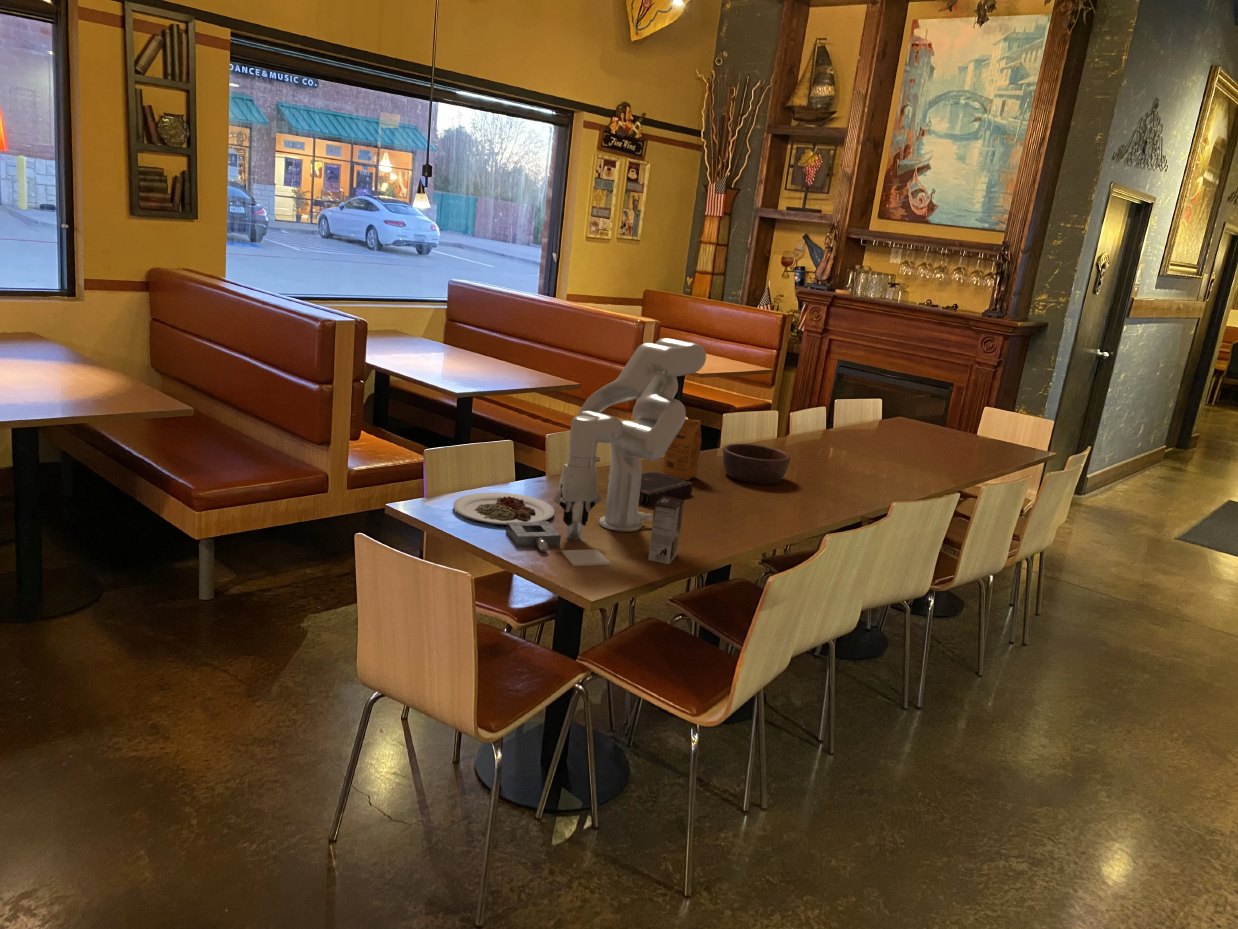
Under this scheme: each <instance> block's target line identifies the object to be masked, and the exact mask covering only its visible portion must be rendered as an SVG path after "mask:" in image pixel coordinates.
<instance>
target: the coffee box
mask: <svg viewBox="0 0 1238 929" xmlns="http://www.w3.org/2000/svg"><path fill="white" fill-rule="evenodd" d="M684 502H685V499H682V498H674V497H669V496H662V497H661V498H660V499H659V500H658V501H657V502H656V503H655V505H654V508H653V515H652V523H651V524H652V526H651V534H650V541H649V542H650V543H649V550H648V556H647V557H648V558H647V559H648V561H652V562H656V563H661V564H666V565H671V563H672V562H673V561H674V559H675V558H676V556H677V555H678V552H679V544H680V543H679V542H680V535H681V528H682V520H683V519H682V518H683V512H684V511H683V510H684V505H685V504H684Z"/></svg>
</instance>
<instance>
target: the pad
mask: <svg viewBox="0 0 1238 929" xmlns="http://www.w3.org/2000/svg"><path fill="white" fill-rule="evenodd" d="M561 553H562V554H563V555H564V557H565V558H566V559H567V560H568V561H569V563H570V564H572V566H573V567H585V566H610V565H611V562H610V560H608V559H607V557H605V555H603V554H602V553H601V551H599V549H596V548H594V549H568V550H567V549H564V550H561Z"/></svg>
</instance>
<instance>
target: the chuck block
mask: <svg viewBox="0 0 1238 929" xmlns="http://www.w3.org/2000/svg"><path fill="white" fill-rule="evenodd" d="M505 528H506V529H505V533H506V534H507V536H508V538H510V540H512V542H513V543H514V545H515V546H516V547H517V548H532V547H534V548H535V547H537V548H539V550H540V551H541V552H543V553H546V552H548V551H549V549H550V547H560V546H561V537H562V535H561V534H560V533H559V532H558V530H556V528H555V527H554V526H553V525H552V524H551V523H550V522H549V521H548V520H546V521H542V522H507V525H505Z"/></svg>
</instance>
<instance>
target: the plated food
mask: <svg viewBox="0 0 1238 929" xmlns="http://www.w3.org/2000/svg"><path fill="white" fill-rule="evenodd" d="M452 504H453V509H454V511H456V512H457V513H458V514H460V515H461V516H464V517H465V518H468V519H471V520H474V521H477V522H478V521H479V522H484V523H487V524H493V525H500V526H501V525H502V526H507V522H544V521H548V520H550V519H551V518H553V517H554V515H555V509H554V507H553V506H552V505H551V504H549V503H548V502H546V501H544V500H542V499H538V498H536V497H532V496H528V495H523V494H518V493H508V492H478V493H470V494H467V495H462V496H460V497H459V498H457V499H455V500H454V502H453V503H452Z"/></svg>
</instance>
